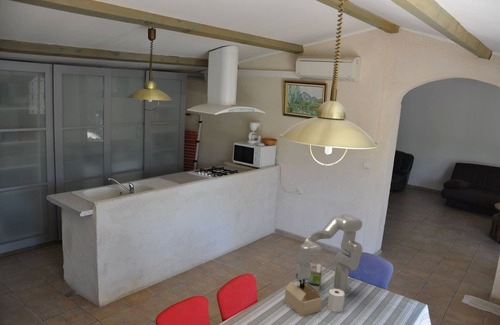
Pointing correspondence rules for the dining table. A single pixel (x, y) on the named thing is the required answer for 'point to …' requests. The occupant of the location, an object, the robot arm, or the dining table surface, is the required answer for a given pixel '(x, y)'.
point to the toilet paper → (336, 300)
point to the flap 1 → (296, 291)
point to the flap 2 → (312, 288)
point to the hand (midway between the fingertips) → (302, 287)
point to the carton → (304, 301)
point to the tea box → (315, 275)
